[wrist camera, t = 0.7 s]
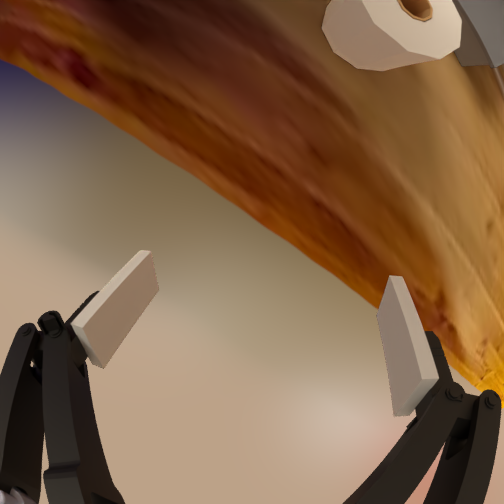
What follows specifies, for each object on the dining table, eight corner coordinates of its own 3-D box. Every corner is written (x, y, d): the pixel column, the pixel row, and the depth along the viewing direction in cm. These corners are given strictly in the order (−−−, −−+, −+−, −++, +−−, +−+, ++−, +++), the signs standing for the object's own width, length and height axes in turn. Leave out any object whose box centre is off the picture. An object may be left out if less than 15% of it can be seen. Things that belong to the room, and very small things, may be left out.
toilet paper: (404, 79, 24) (467, 74, 13) (321, 63, 24) (359, 38, 14) (400, 9, 19) (454, -18, 9) (319, -9, 19) (348, -58, 9)
